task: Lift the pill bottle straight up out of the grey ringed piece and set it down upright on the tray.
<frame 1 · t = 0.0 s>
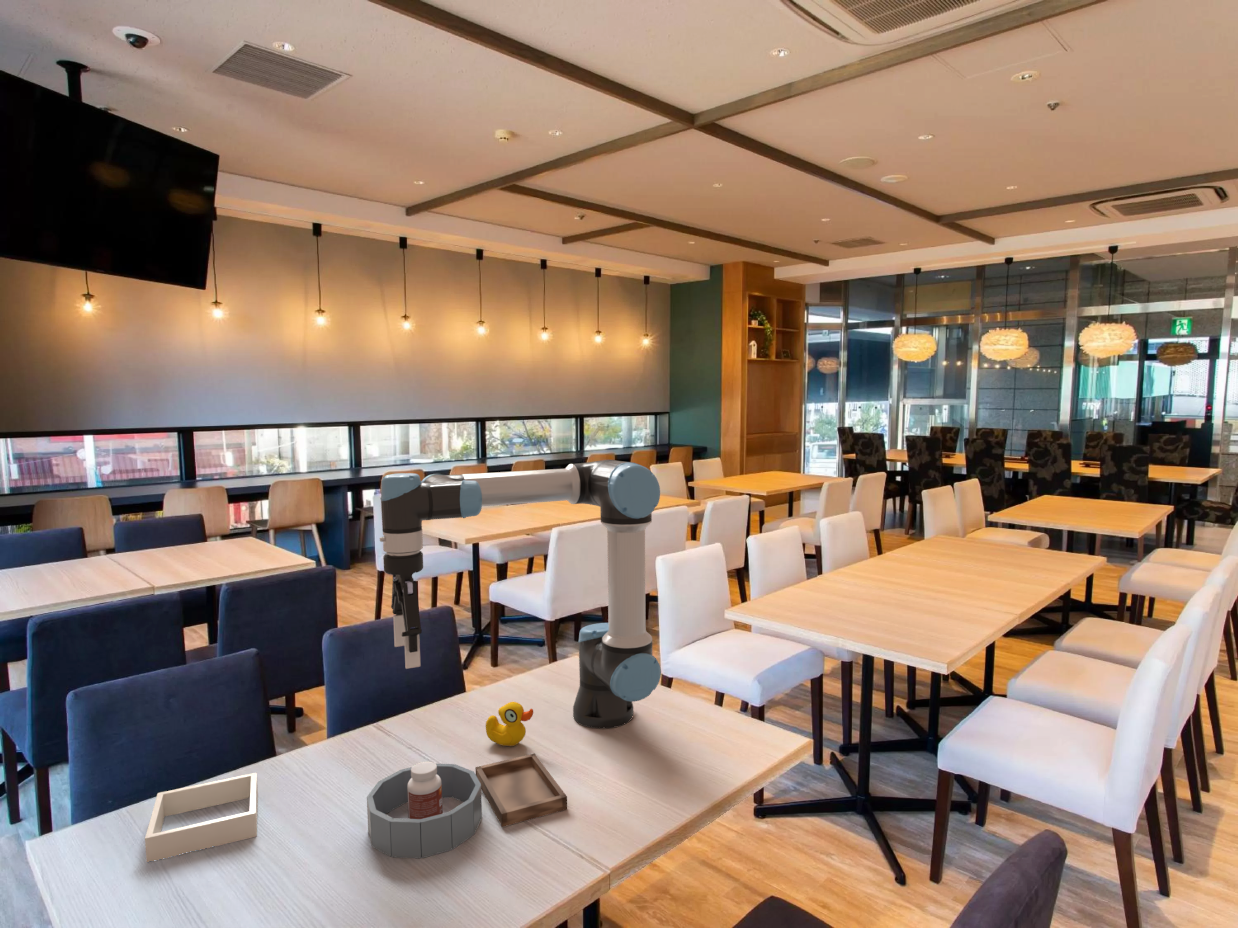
hand: (406, 655, 145), 28 cm above the table, fingers open, 13 cm apart
grey ringed piece: (425, 823, 135), on the table
tray: (519, 793, 145), on the table
pill bottle: (425, 824, 135), resting in grey ringed piece
open rectangular frame: (206, 825, 135), on the table
duckling: (509, 745, 166), on the table
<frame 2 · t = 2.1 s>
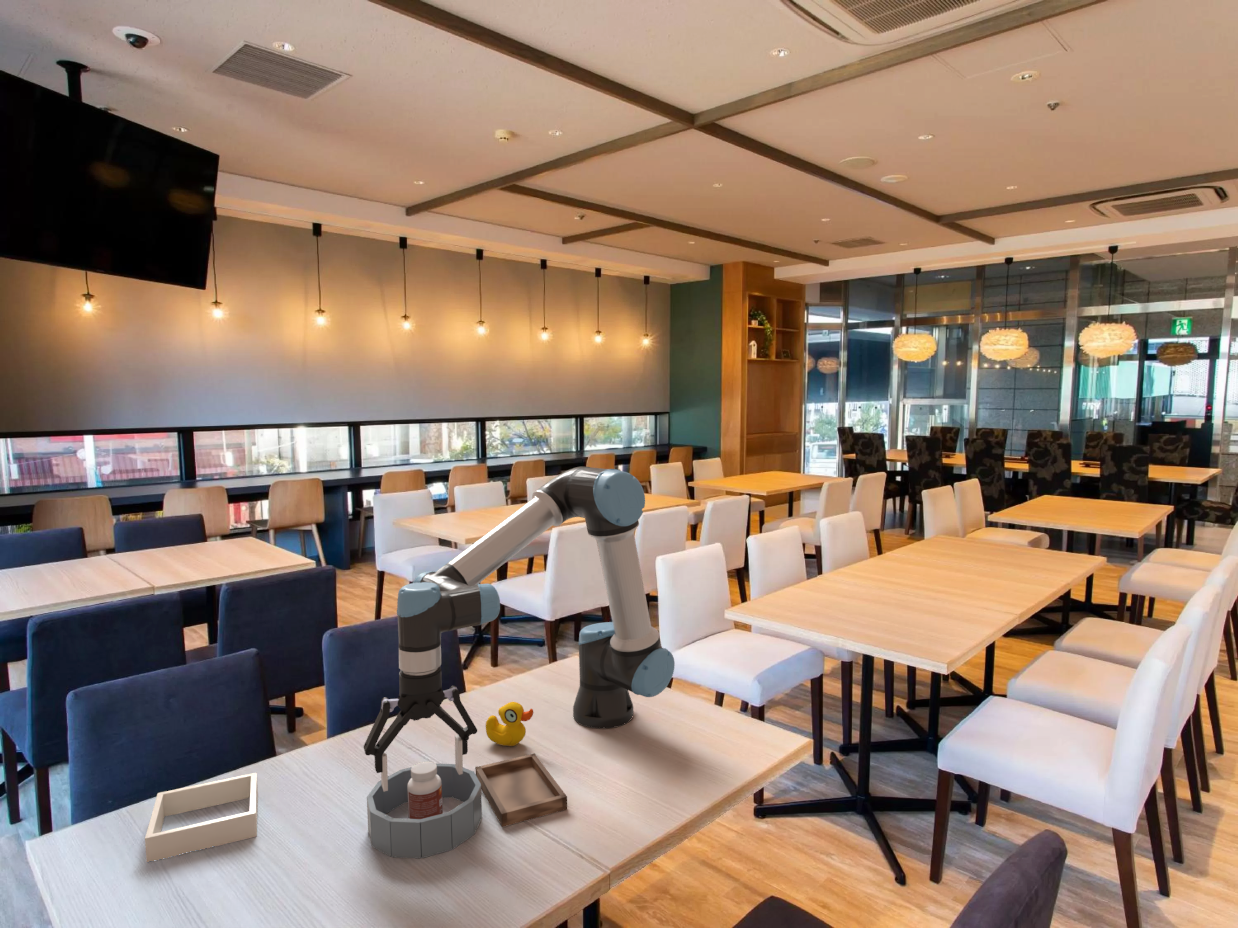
hand: (422, 779, 134), 9 cm above the table, fingers open, 13 cm apart
nothing on the table moved.
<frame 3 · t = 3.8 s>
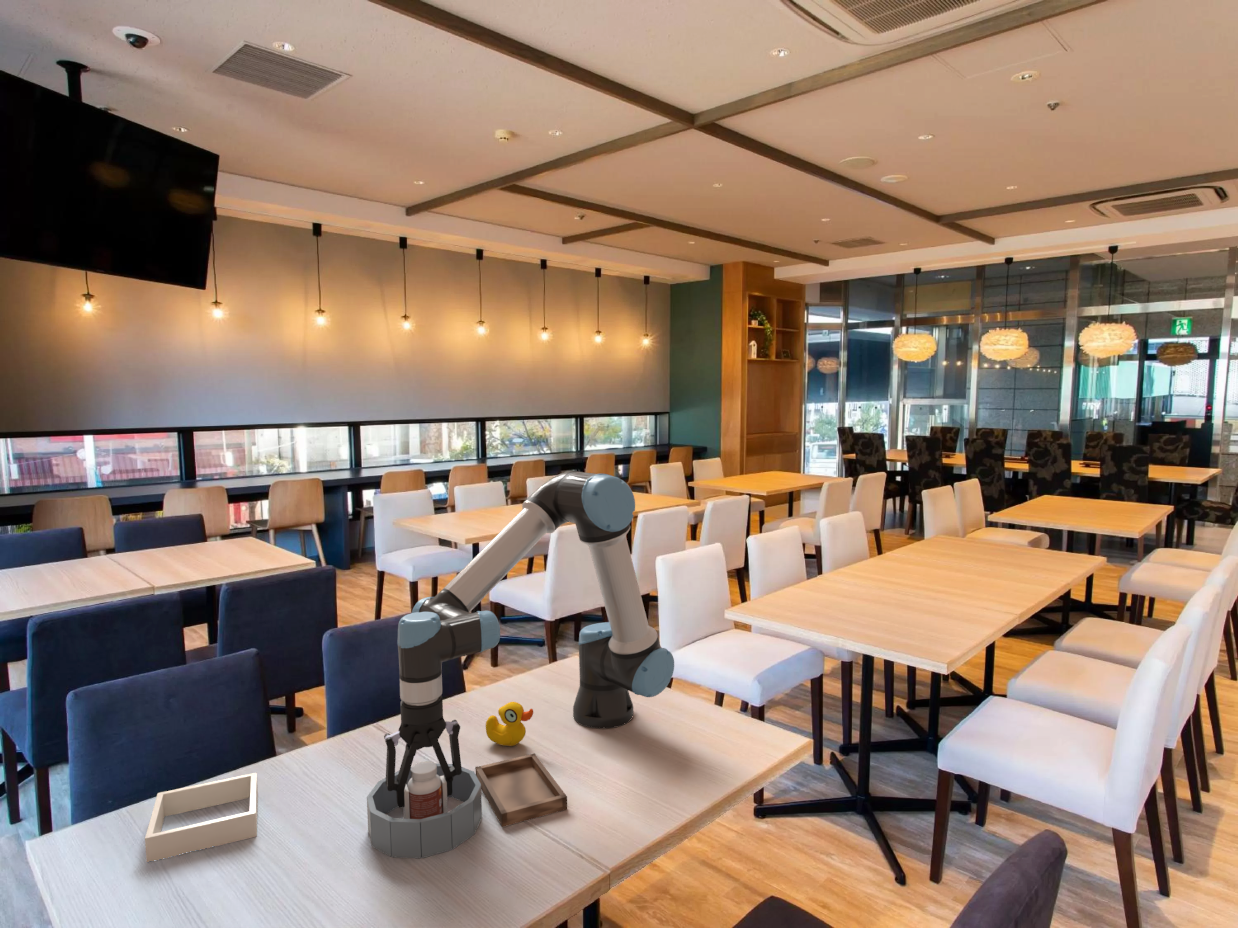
hand: (425, 816, 135), 1 cm above the table, fingers closed on pill bottle, 6 cm apart
pill bottle: (425, 824, 135), resting in grey ringed piece, touching gripper
everything else where it was.
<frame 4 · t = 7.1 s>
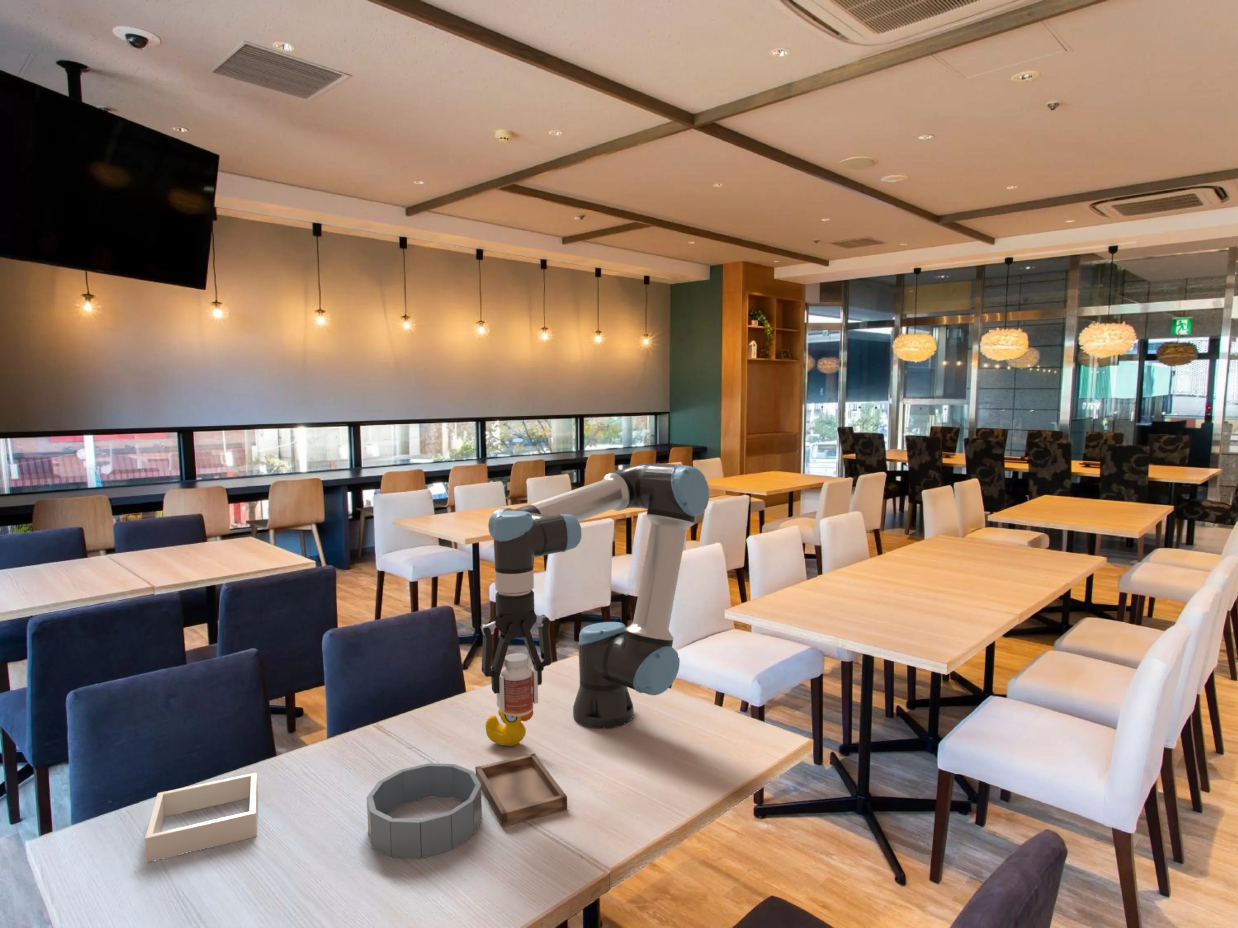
hand: (517, 703, 143), 19 cm above the table, fingers closed on pill bottle, 6 cm apart
pill bottle: (517, 711, 143), point 17 cm above the table, touching gripper
everything else where it was.
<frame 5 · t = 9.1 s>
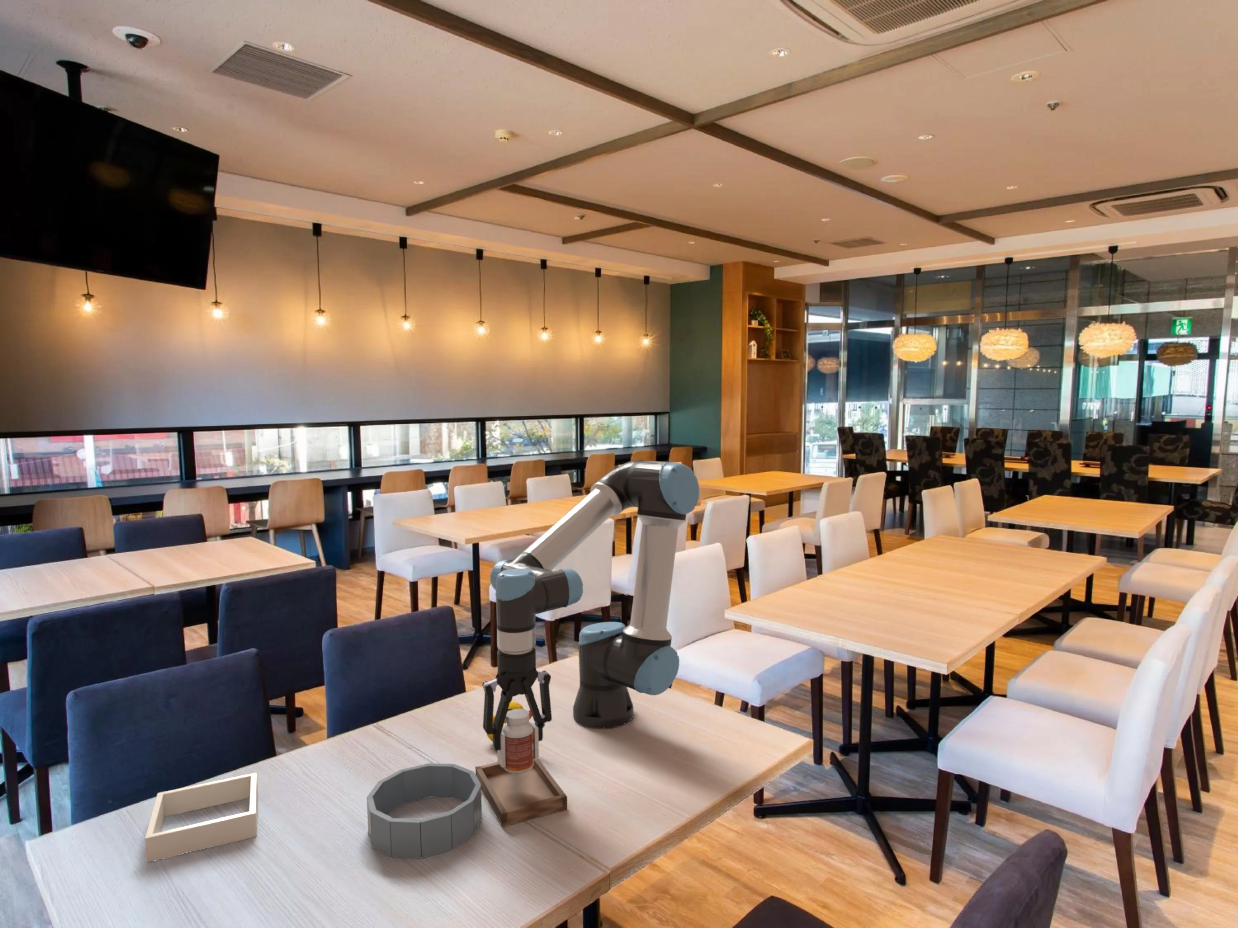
hand: (518, 759, 144), 7 cm above the table, fingers closed on pill bottle, 6 cm apart
pill bottle: (518, 767, 144), point 5 cm above the table, touching gripper
everything else where it was.
when the fingers open (4 cm above the table, at t = 10.6 s): pill bottle drops 1 cm, resting on tray.
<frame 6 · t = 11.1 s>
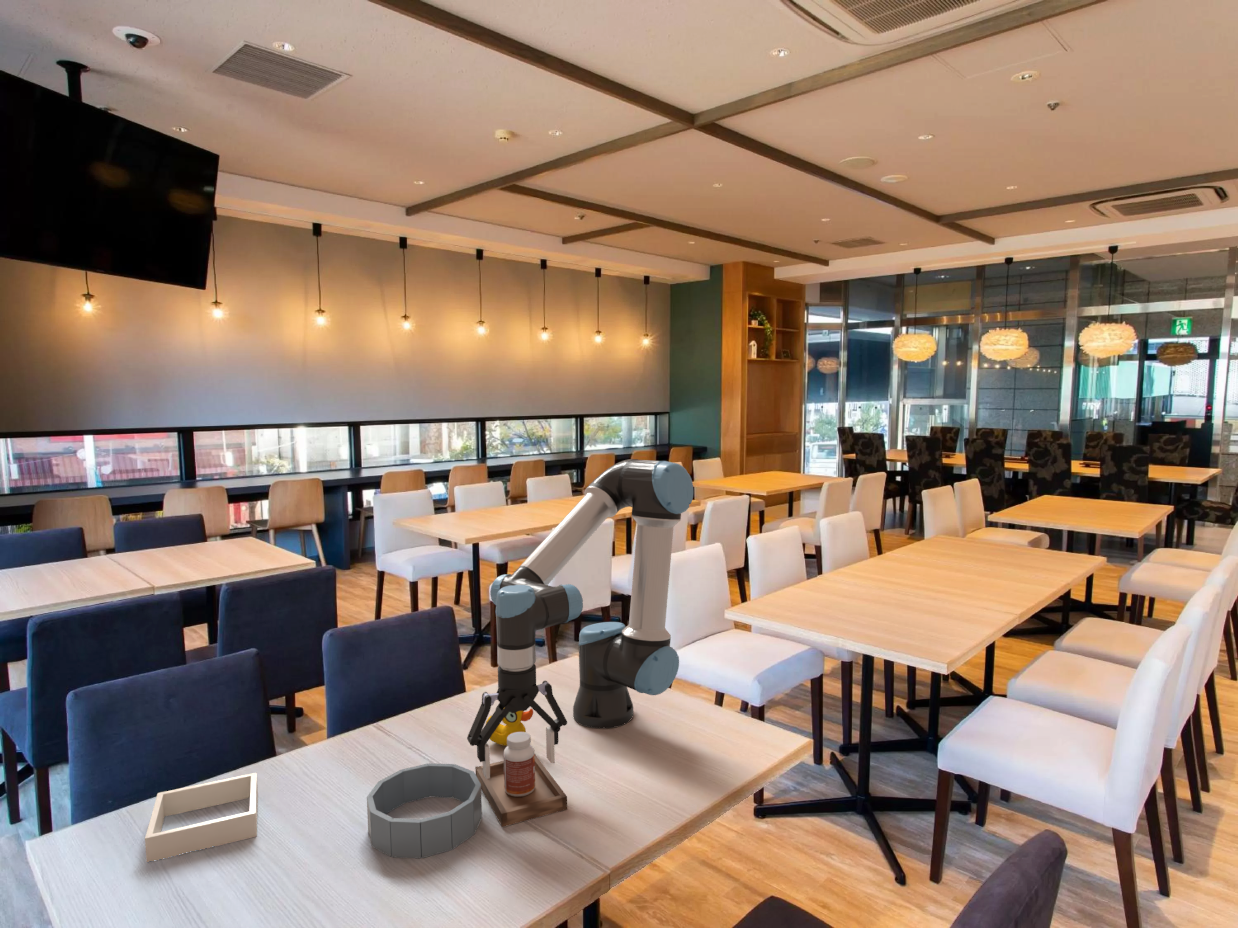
hand: (519, 767, 144), 5 cm above the table, fingers open, 13 cm apart
pill bottle: (519, 790, 145), point 1 cm above the table, touching tray
everything else where it was.
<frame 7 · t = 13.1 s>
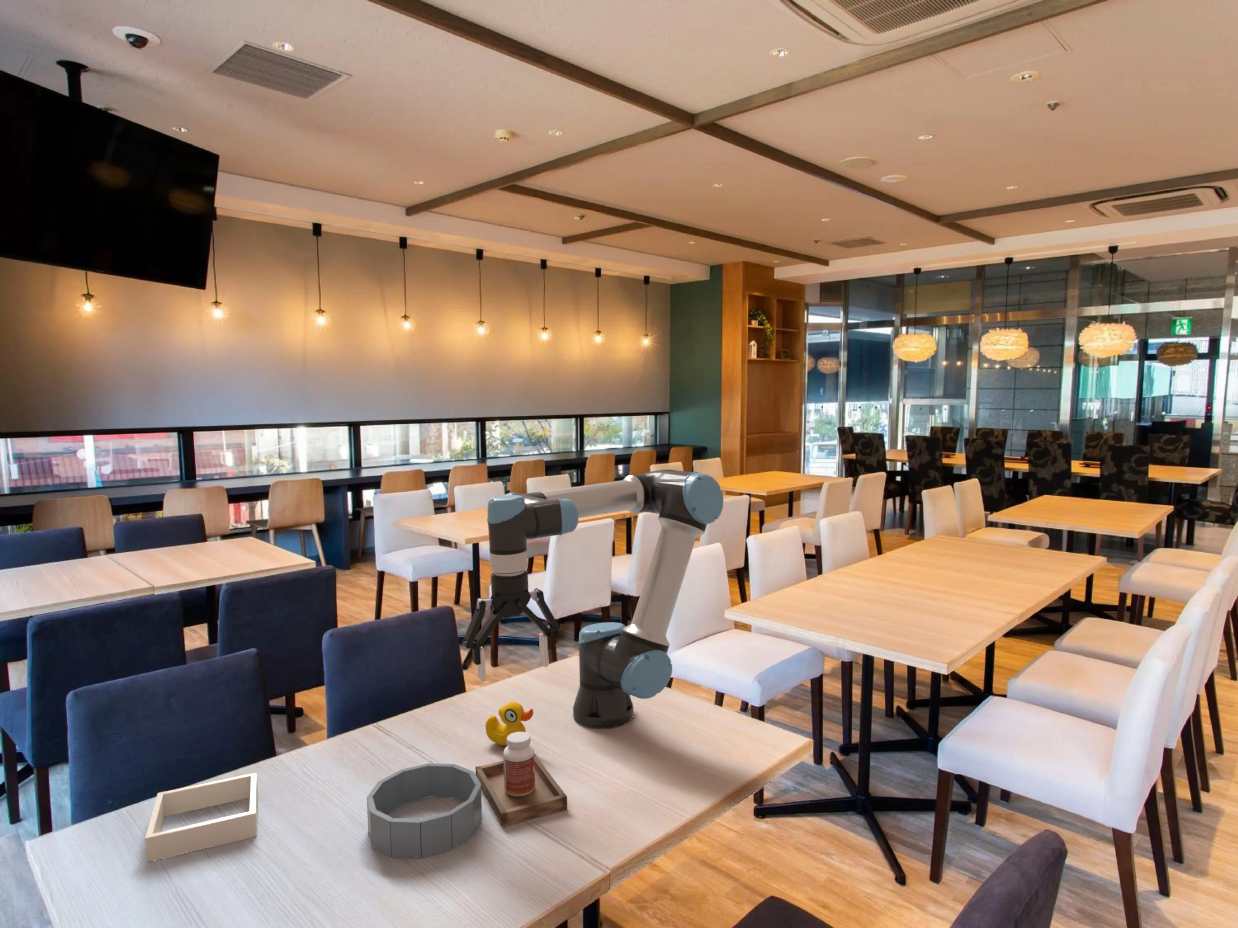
hand: (513, 671, 149), 23 cm above the table, fingers open, 13 cm apart
nothing on the table moved.
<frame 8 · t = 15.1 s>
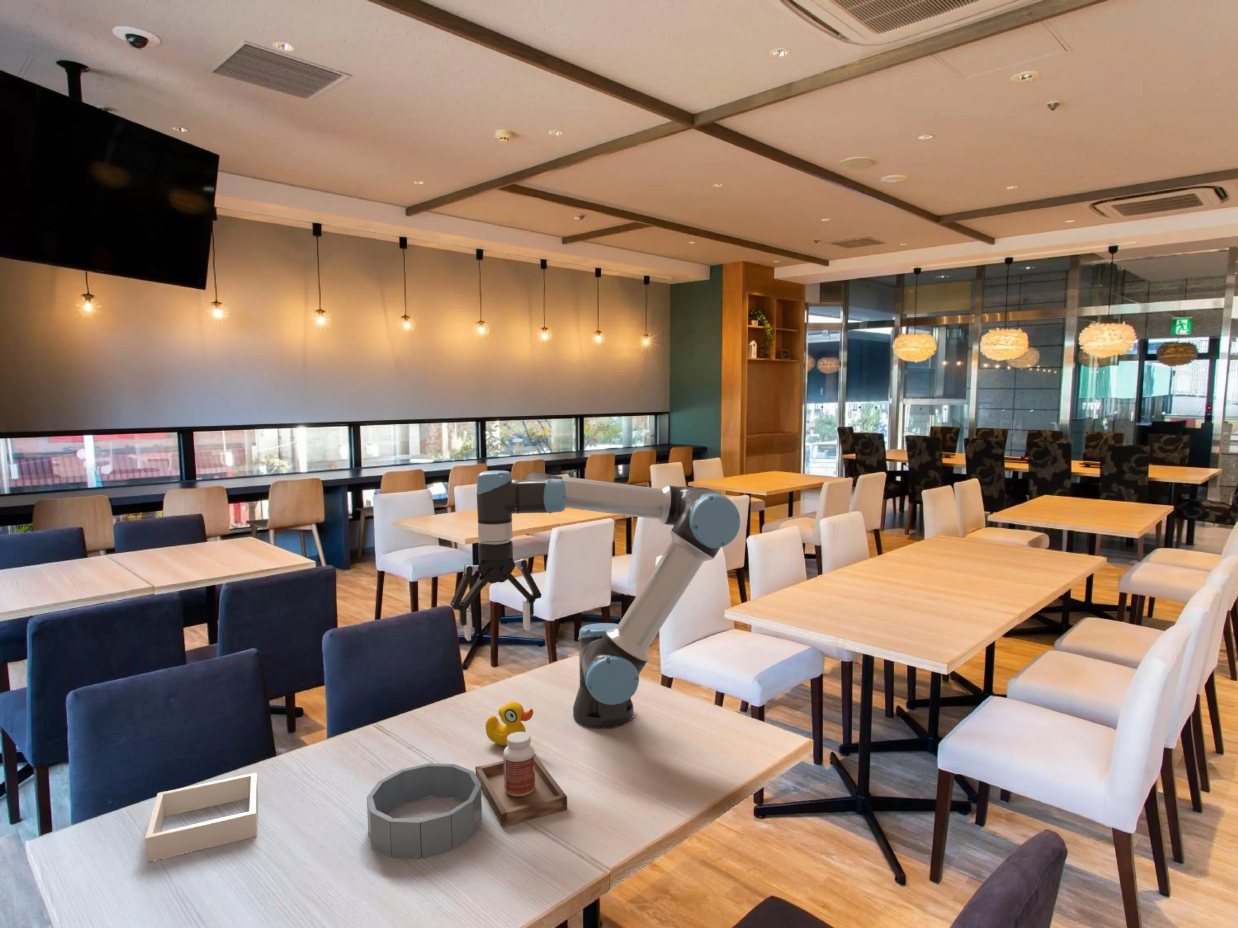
hand: (497, 634, 161), 27 cm above the table, fingers open, 13 cm apart
nothing on the table moved.
at the end: pill bottle inside the target area on the tray (0.1 cm from its centre), point 0.6 cm above the tray's base; pill bottle tilted 0°; the gripper is holding nothing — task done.
